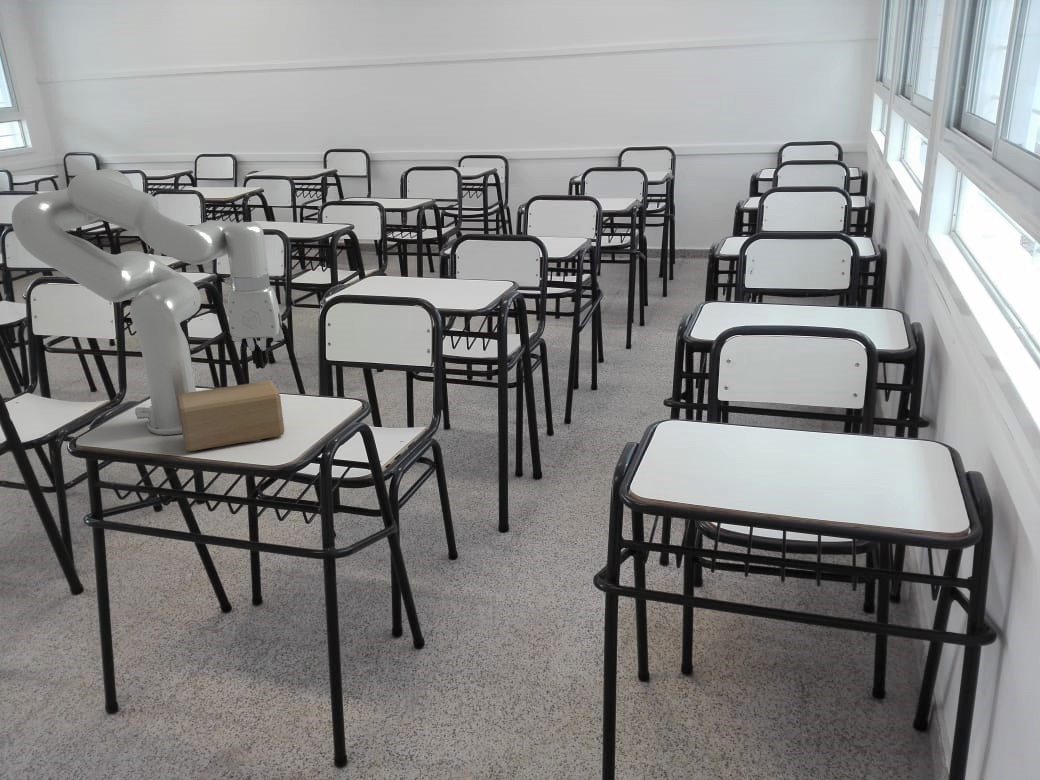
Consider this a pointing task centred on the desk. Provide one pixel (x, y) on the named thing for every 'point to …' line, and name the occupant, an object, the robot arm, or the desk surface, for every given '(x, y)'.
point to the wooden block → (230, 415)
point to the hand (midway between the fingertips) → (261, 366)
